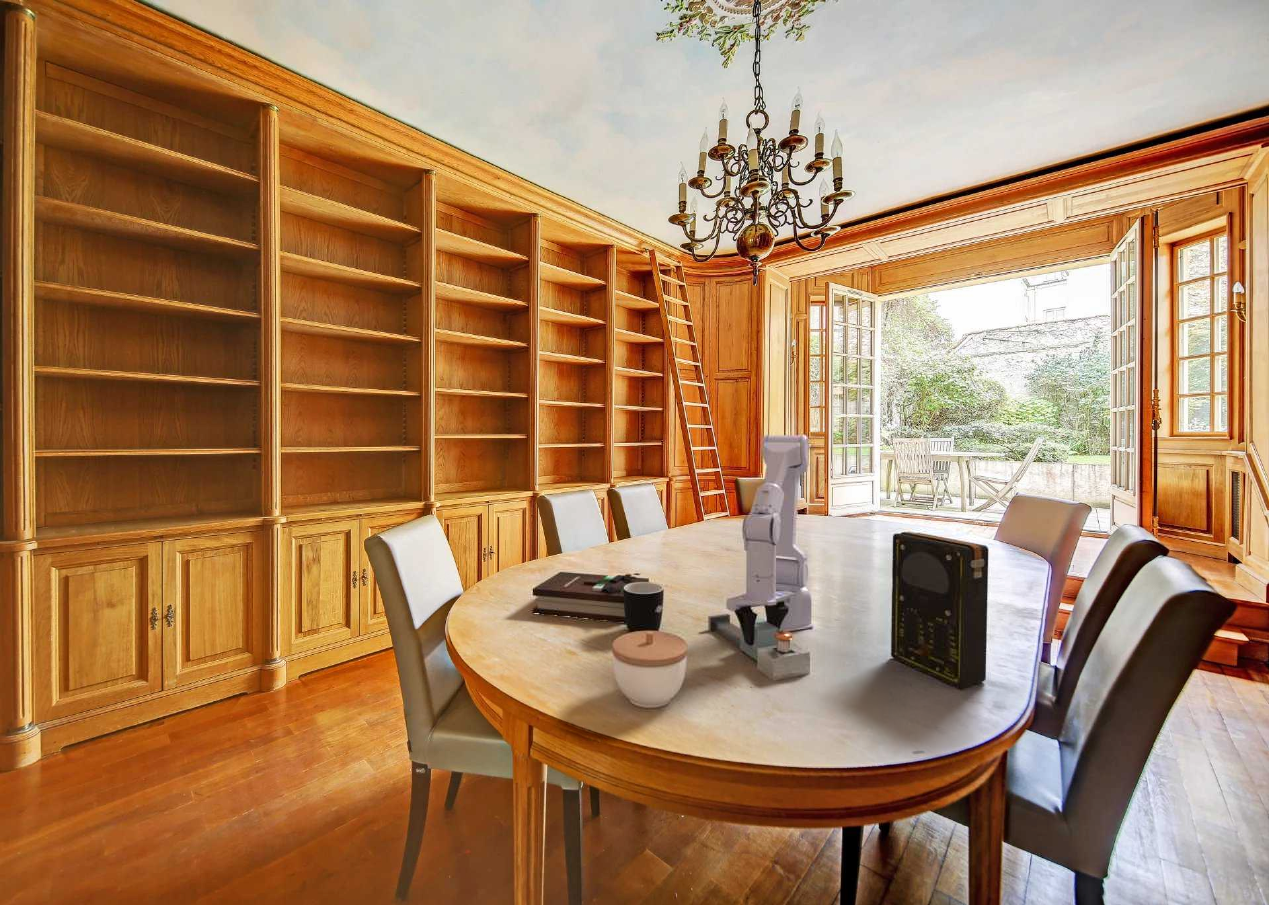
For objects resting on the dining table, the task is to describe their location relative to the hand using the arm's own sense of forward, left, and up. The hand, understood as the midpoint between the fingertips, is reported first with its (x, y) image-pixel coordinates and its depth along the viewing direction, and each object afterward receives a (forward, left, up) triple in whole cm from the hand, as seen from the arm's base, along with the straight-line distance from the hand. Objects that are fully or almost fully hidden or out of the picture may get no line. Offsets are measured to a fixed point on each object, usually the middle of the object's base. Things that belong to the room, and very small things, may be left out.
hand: (760, 641), depth 106 cm
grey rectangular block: (0, +7, -3) cm, 8 cm away
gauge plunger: (0, +7, -1) cm, 7 cm away
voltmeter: (-27, +17, -3) cm, 32 cm away
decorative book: (+22, -41, -4) cm, 47 cm away
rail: (0, -6, -3) cm, 6 cm away
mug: (+16, -22, -3) cm, 27 cm away
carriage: (0, -1, -3) cm, 3 cm away
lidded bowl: (+27, +7, -3) cm, 28 cm away
